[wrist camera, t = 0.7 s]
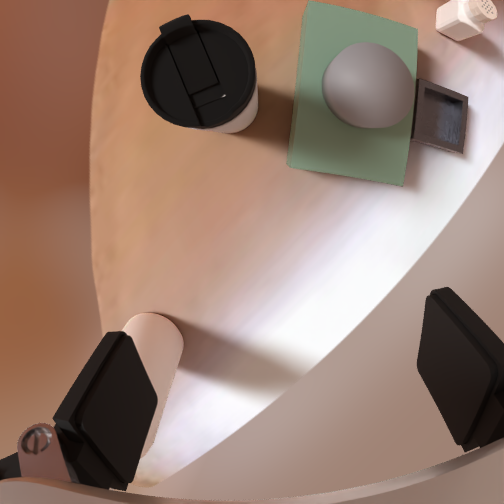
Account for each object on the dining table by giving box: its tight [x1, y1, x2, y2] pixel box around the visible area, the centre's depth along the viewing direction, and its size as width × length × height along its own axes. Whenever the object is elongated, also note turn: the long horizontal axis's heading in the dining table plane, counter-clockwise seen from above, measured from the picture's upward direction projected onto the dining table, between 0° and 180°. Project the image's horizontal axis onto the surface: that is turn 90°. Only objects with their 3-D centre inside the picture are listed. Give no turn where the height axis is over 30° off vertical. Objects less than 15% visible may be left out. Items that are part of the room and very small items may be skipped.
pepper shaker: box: [436, 0, 497, 41], centre depth 23 cm, size 4×4×10 cm
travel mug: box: [140, 14, 258, 133], centre depth 23 cm, size 6×7×20 cm
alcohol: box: [109, 313, 184, 490], centre depth 29 cm, size 9×9×30 cm
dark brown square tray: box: [410, 79, 468, 154], centre depth 31 cm, size 7×7×3 cm
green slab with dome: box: [287, 1, 418, 186], centre depth 28 cm, size 18×12×9 cm, turn 174°
